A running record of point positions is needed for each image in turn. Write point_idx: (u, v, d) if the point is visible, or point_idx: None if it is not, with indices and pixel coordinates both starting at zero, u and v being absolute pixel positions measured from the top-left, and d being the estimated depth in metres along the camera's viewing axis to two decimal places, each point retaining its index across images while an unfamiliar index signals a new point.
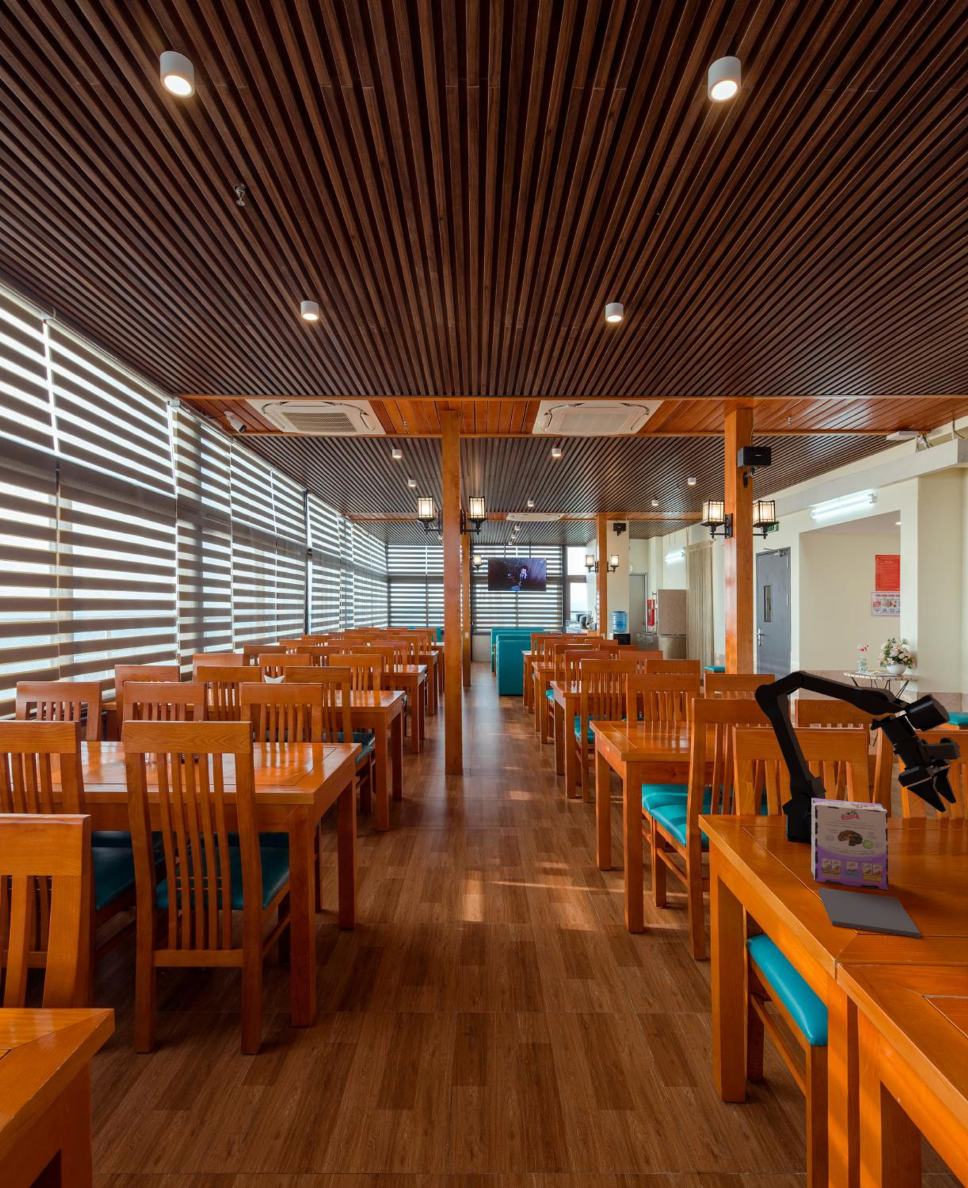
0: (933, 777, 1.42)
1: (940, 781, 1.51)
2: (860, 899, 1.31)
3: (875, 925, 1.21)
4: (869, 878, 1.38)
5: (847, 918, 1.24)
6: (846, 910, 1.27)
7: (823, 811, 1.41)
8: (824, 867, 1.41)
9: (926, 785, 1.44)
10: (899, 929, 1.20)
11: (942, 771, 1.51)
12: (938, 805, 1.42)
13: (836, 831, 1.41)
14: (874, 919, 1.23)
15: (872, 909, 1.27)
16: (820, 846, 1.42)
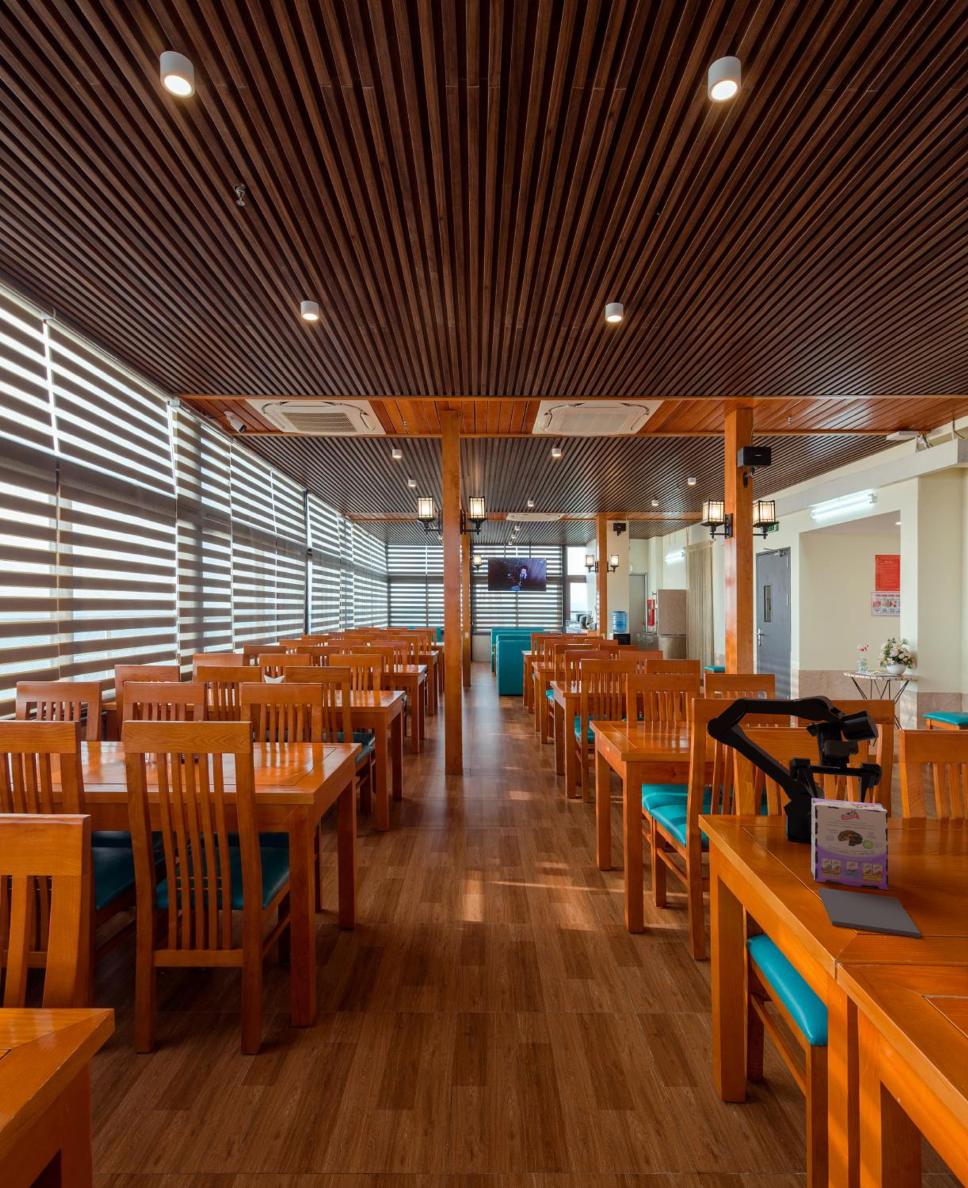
0: (804, 767, 1.56)
1: (860, 787, 1.53)
2: (860, 899, 1.31)
3: (875, 925, 1.21)
4: (869, 878, 1.38)
5: (847, 918, 1.24)
6: (846, 910, 1.27)
7: (823, 811, 1.41)
8: (824, 867, 1.41)
9: None
10: (899, 929, 1.20)
11: (861, 776, 1.53)
12: (813, 795, 1.54)
13: (836, 831, 1.41)
14: (874, 919, 1.23)
15: (872, 909, 1.27)
16: (820, 846, 1.42)
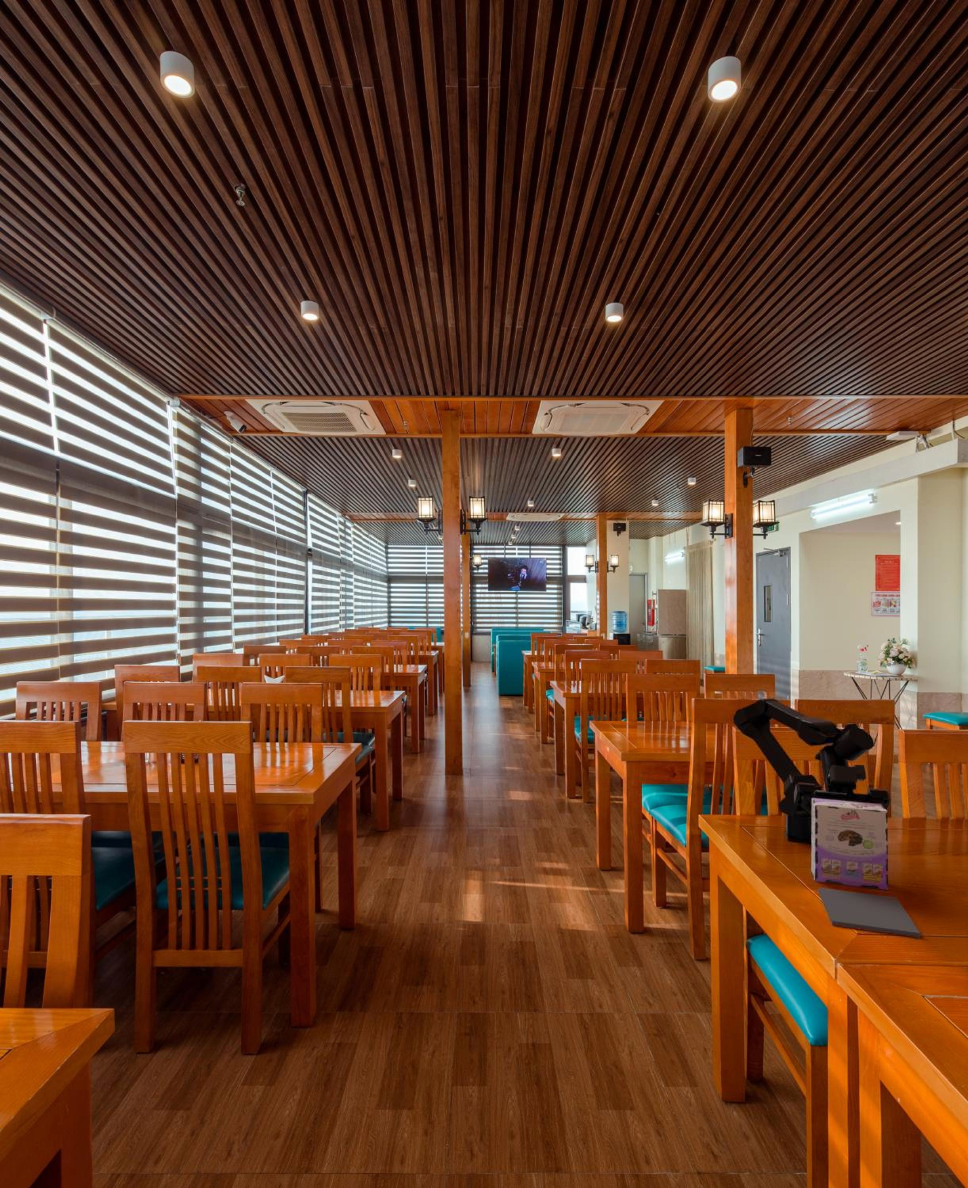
0: (809, 794, 1.50)
1: None
2: (860, 899, 1.31)
3: (875, 925, 1.21)
4: (869, 878, 1.38)
5: (847, 918, 1.24)
6: (846, 910, 1.27)
7: (823, 811, 1.41)
8: (824, 867, 1.41)
9: None
10: (899, 929, 1.20)
11: None
12: None
13: (836, 831, 1.40)
14: (874, 919, 1.23)
15: (872, 909, 1.27)
16: (820, 846, 1.42)
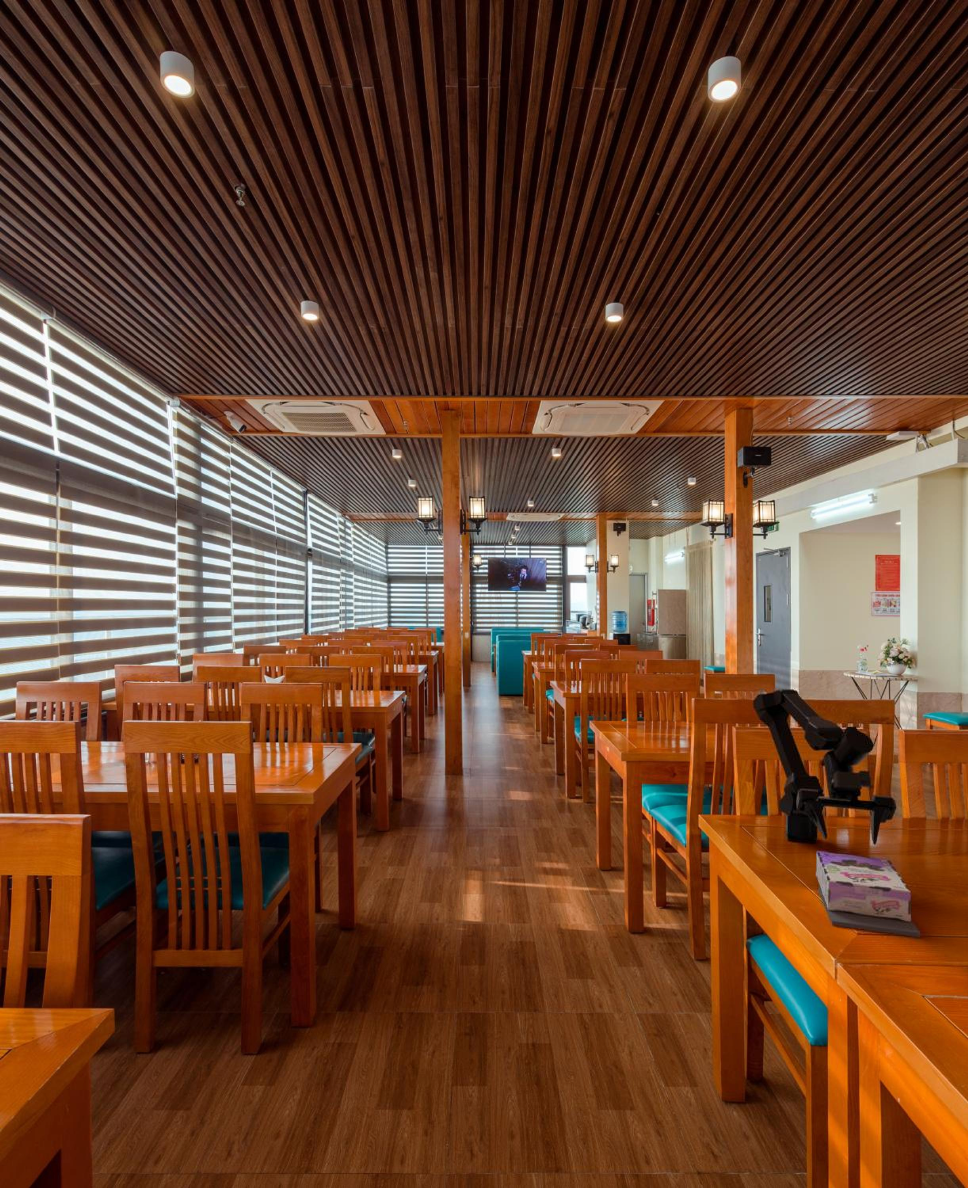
0: (811, 800, 1.46)
1: (873, 822, 1.42)
2: None
3: (875, 925, 1.21)
4: None
5: (847, 918, 1.24)
6: None
7: None
8: None
9: None
10: (899, 929, 1.20)
11: (873, 810, 1.43)
12: (821, 831, 1.43)
13: None
14: (874, 919, 1.23)
15: None
16: None
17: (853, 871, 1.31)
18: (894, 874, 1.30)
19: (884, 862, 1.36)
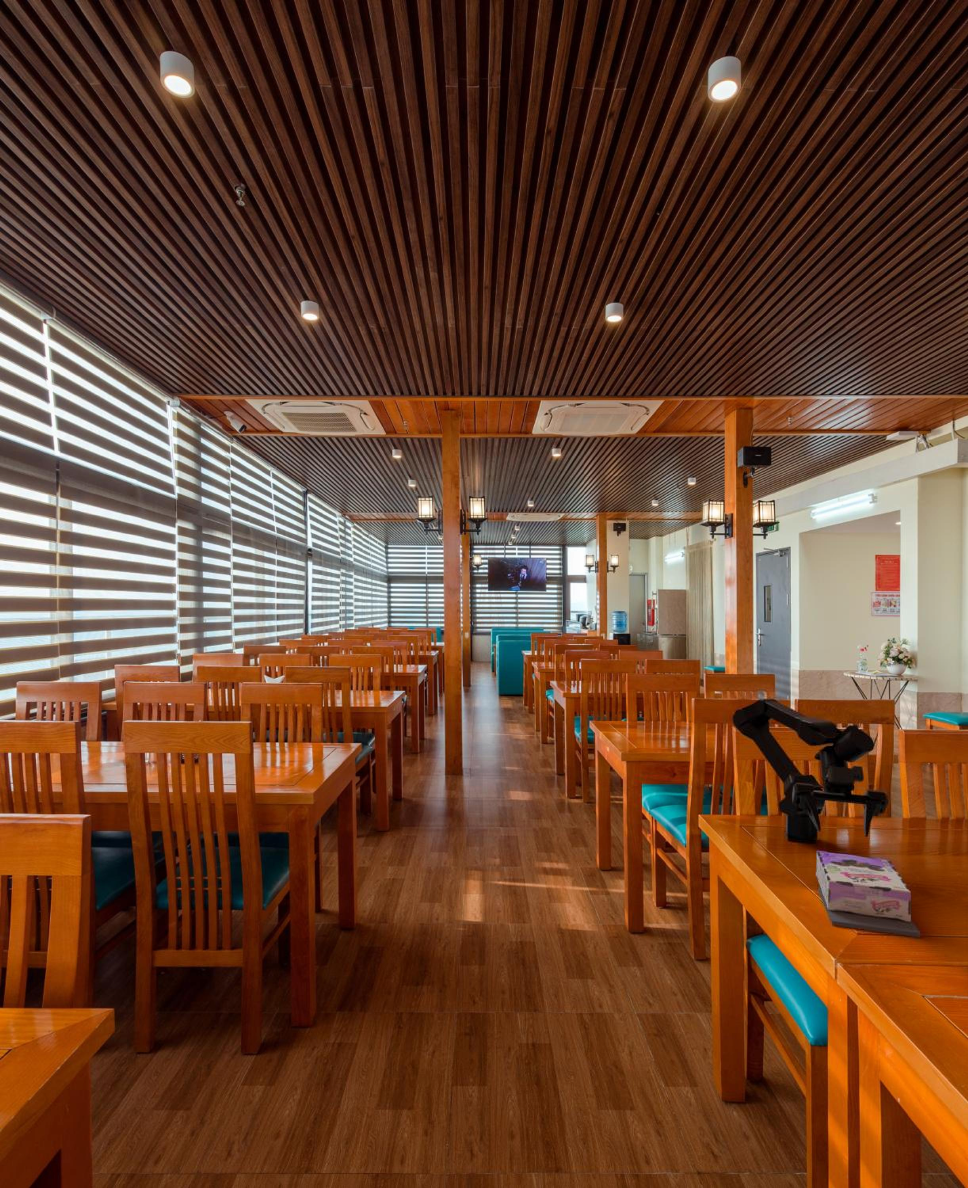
0: (806, 794, 1.51)
1: (865, 815, 1.48)
2: None
3: (875, 925, 1.21)
4: None
5: (847, 918, 1.24)
6: None
7: None
8: None
9: None
10: (899, 929, 1.20)
11: (866, 804, 1.48)
12: (815, 823, 1.49)
13: None
14: (874, 919, 1.23)
15: None
16: None
17: (854, 871, 1.31)
18: (894, 874, 1.30)
19: (884, 862, 1.36)
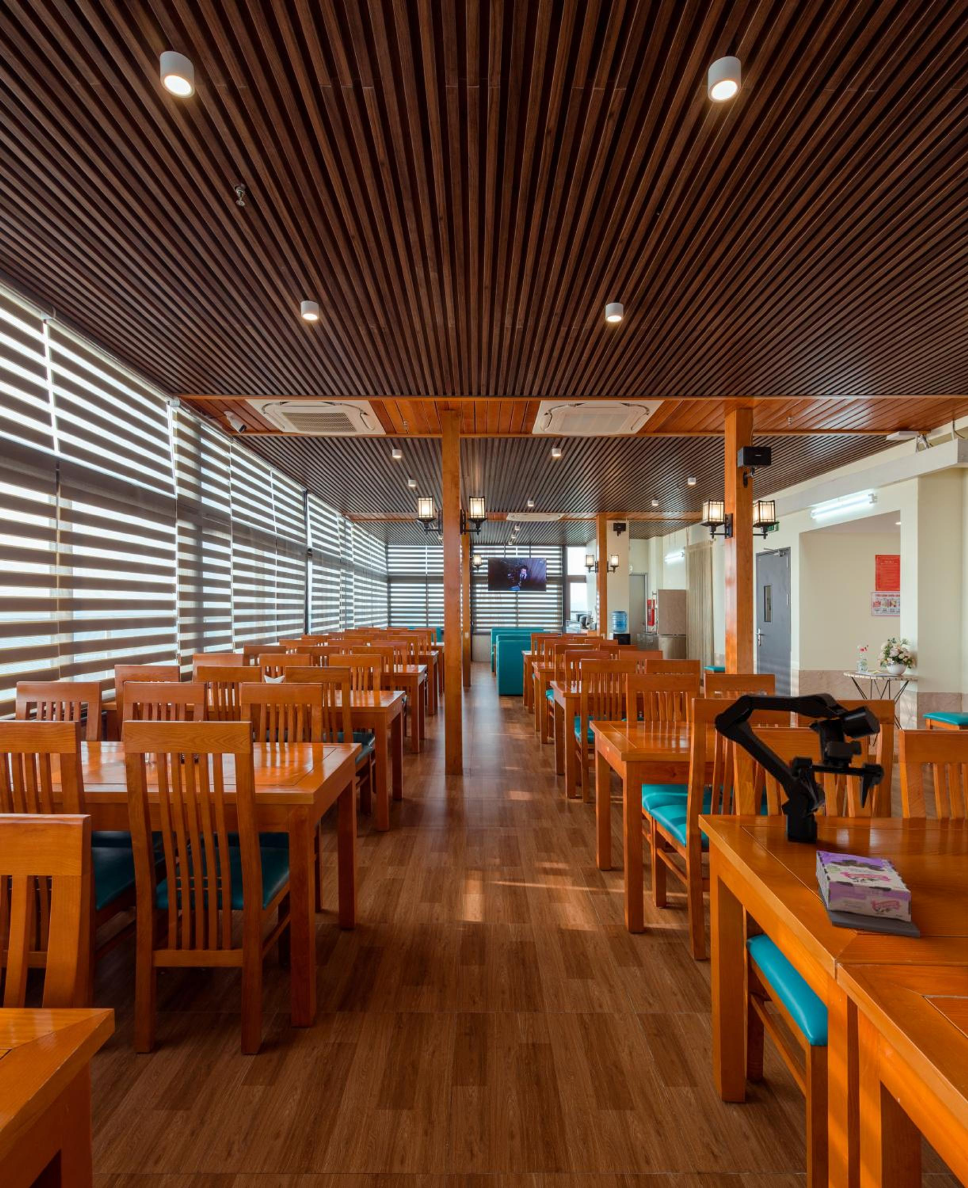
0: (805, 767, 1.55)
1: (862, 787, 1.53)
2: None
3: (875, 925, 1.21)
4: None
5: (847, 918, 1.24)
6: None
7: None
8: None
9: None
10: (899, 929, 1.20)
11: (863, 777, 1.53)
12: (814, 795, 1.54)
13: None
14: (874, 919, 1.23)
15: None
16: None
17: (854, 871, 1.31)
18: (894, 874, 1.30)
19: (884, 862, 1.36)
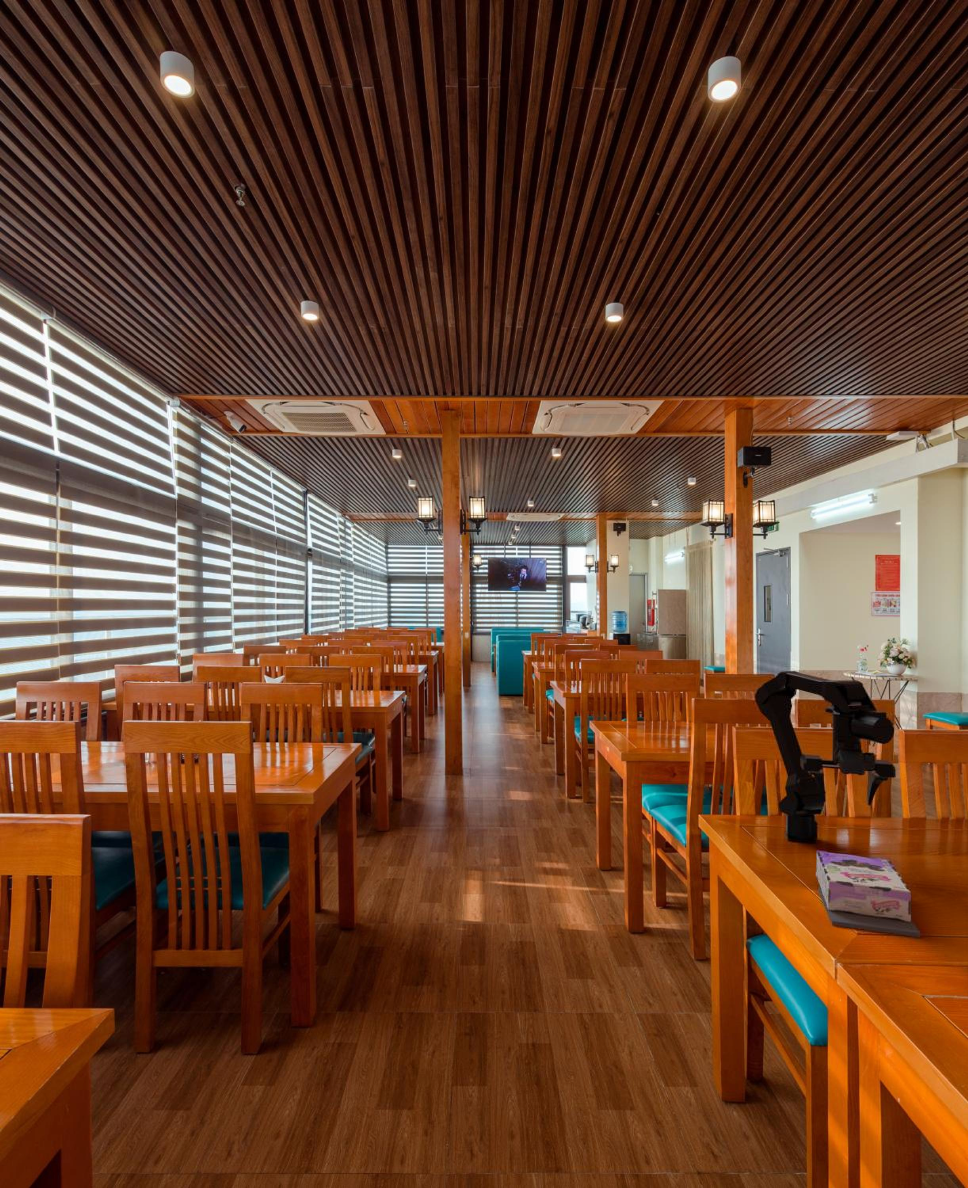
0: (815, 773, 1.54)
1: (870, 783, 1.53)
2: None
3: (875, 925, 1.21)
4: None
5: (847, 918, 1.24)
6: None
7: None
8: None
9: None
10: (899, 929, 1.20)
11: (873, 777, 1.51)
12: (820, 793, 1.56)
13: None
14: (874, 919, 1.23)
15: None
16: None
17: (854, 871, 1.31)
18: (894, 874, 1.30)
19: (884, 862, 1.36)
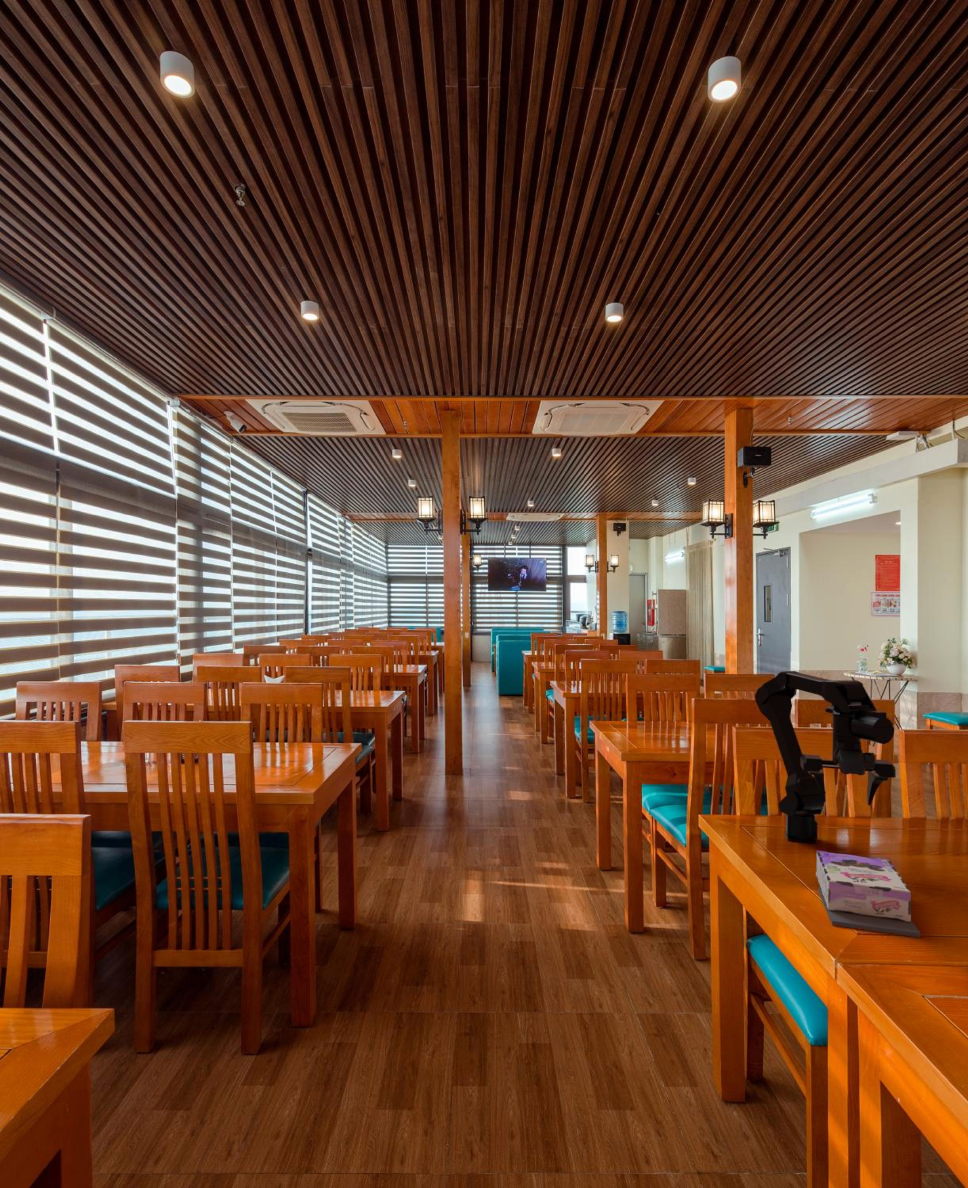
0: (815, 773, 1.54)
1: (870, 783, 1.53)
2: None
3: (875, 925, 1.21)
4: None
5: (847, 918, 1.24)
6: None
7: None
8: None
9: None
10: (899, 929, 1.20)
11: (872, 777, 1.51)
12: (820, 793, 1.56)
13: None
14: (874, 919, 1.23)
15: None
16: None
17: (854, 871, 1.31)
18: (894, 874, 1.30)
19: (884, 862, 1.36)
